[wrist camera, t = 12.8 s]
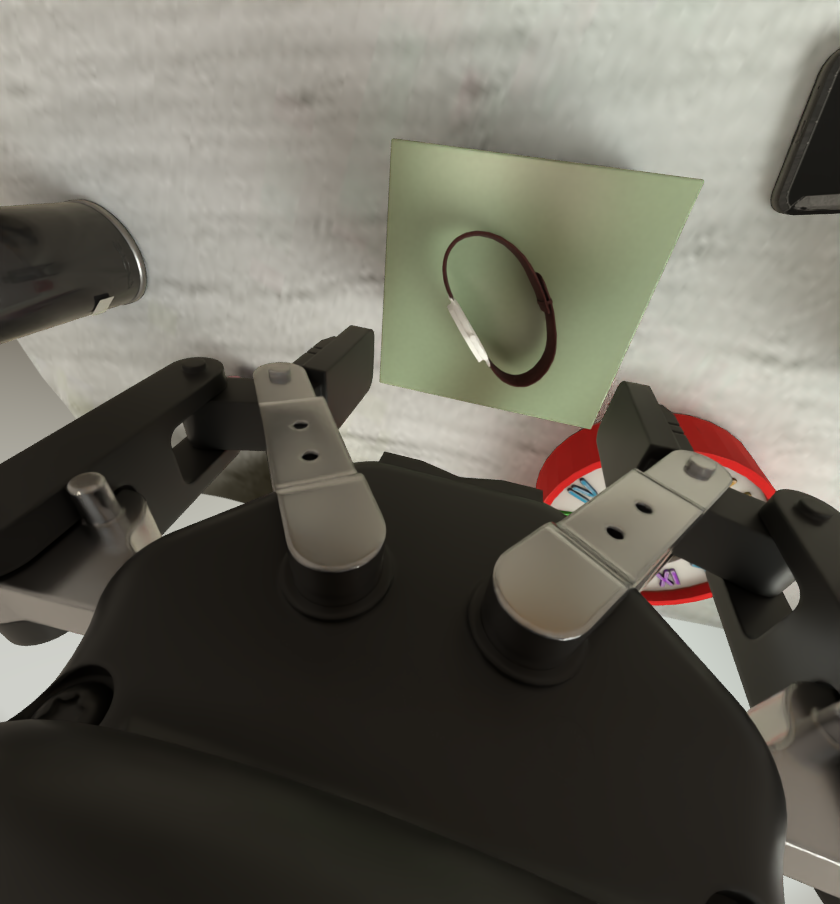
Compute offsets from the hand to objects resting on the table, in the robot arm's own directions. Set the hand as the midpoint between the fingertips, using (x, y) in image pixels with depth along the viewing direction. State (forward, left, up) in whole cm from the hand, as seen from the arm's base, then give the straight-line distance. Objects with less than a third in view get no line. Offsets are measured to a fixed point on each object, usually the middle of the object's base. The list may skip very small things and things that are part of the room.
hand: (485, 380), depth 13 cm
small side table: (0, 0, -22) cm, 22 cm away
